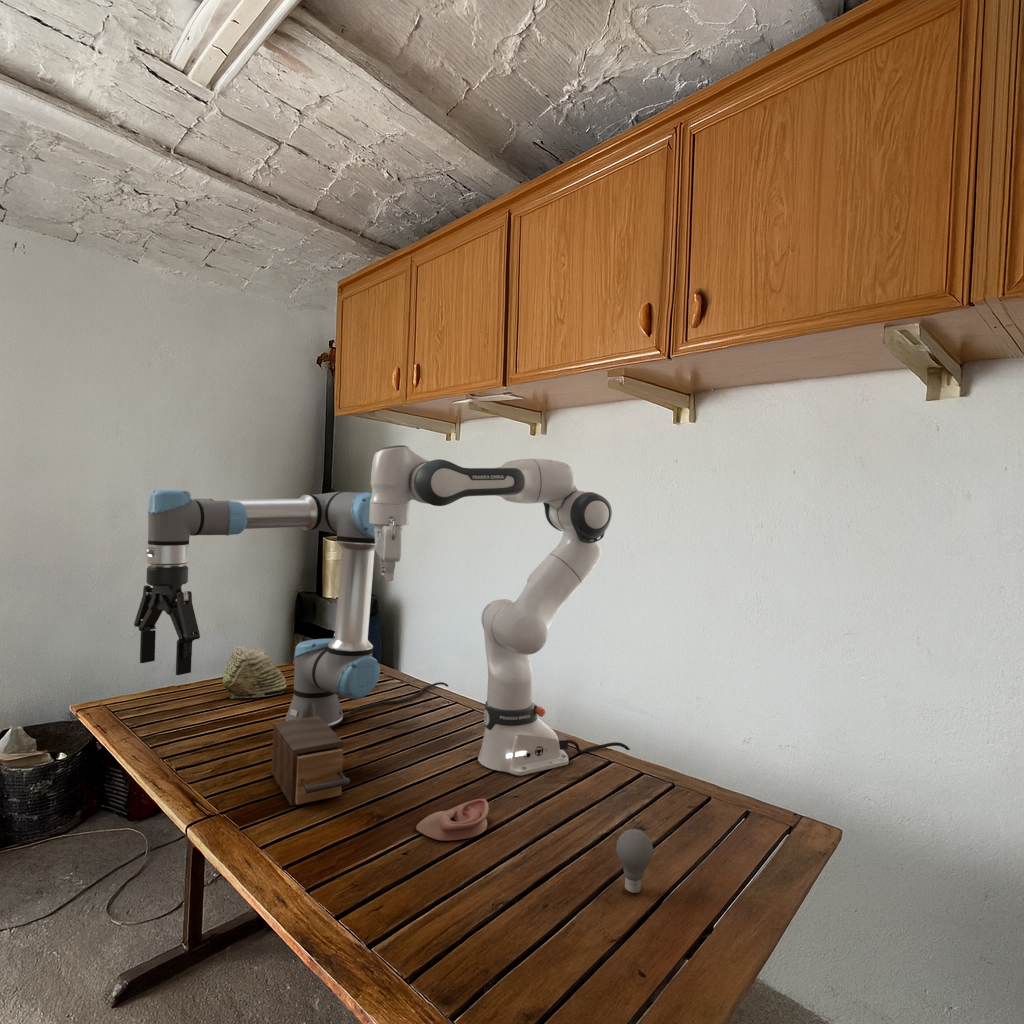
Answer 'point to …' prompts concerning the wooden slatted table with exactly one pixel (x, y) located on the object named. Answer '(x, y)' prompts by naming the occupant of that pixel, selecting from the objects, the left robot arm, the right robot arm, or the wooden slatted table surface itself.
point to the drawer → (319, 775)
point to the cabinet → (298, 748)
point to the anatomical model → (456, 821)
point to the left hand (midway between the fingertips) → (164, 667)
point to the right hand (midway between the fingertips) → (386, 577)
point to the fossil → (252, 674)
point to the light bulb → (634, 857)
